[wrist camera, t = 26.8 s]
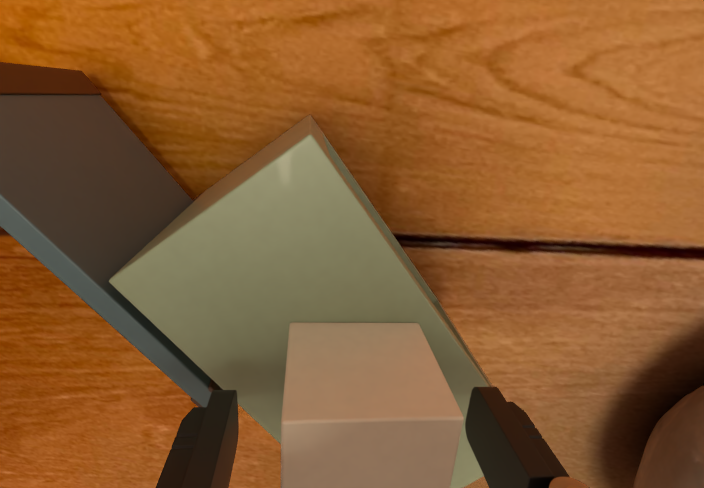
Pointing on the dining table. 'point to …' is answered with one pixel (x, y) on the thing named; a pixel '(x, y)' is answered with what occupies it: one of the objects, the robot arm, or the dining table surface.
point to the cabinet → (287, 277)
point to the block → (366, 409)
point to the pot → (675, 447)
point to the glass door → (87, 200)
